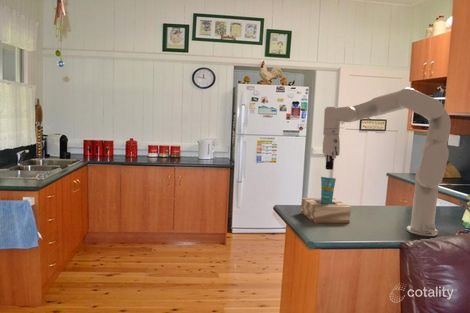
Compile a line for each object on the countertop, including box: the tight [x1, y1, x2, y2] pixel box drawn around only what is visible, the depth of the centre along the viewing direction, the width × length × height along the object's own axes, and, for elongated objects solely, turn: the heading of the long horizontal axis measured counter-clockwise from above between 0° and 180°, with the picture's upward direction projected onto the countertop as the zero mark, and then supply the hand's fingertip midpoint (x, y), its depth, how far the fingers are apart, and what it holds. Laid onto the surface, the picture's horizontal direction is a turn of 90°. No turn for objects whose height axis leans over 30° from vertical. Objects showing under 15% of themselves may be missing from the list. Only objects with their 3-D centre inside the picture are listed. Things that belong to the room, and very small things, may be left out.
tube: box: [320, 176, 337, 205], centre depth 189 cm, size 7×5×19 cm, turn 62°
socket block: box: [300, 197, 352, 224], centre depth 190 cm, size 18×18×8 cm
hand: (329, 169), depth 187 cm, fingers closed
